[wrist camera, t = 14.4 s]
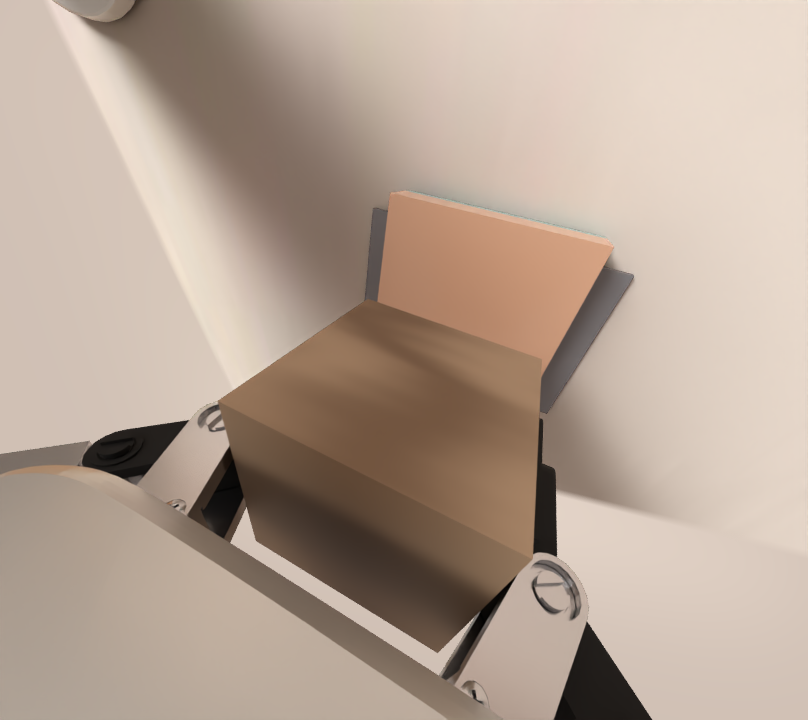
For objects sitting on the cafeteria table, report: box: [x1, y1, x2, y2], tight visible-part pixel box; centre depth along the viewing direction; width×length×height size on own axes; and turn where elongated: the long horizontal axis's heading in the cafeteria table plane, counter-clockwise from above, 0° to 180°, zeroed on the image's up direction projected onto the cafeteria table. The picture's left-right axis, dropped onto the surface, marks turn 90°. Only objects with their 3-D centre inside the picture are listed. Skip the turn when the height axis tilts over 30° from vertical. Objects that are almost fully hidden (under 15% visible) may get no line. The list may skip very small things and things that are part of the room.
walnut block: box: [218, 299, 542, 653], centre depth 9 cm, size 6×6×6 cm
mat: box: [365, 208, 634, 414], centre depth 19 cm, size 14×10×1 cm
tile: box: [377, 190, 614, 377], centre depth 17 cm, size 10×2×10 cm
